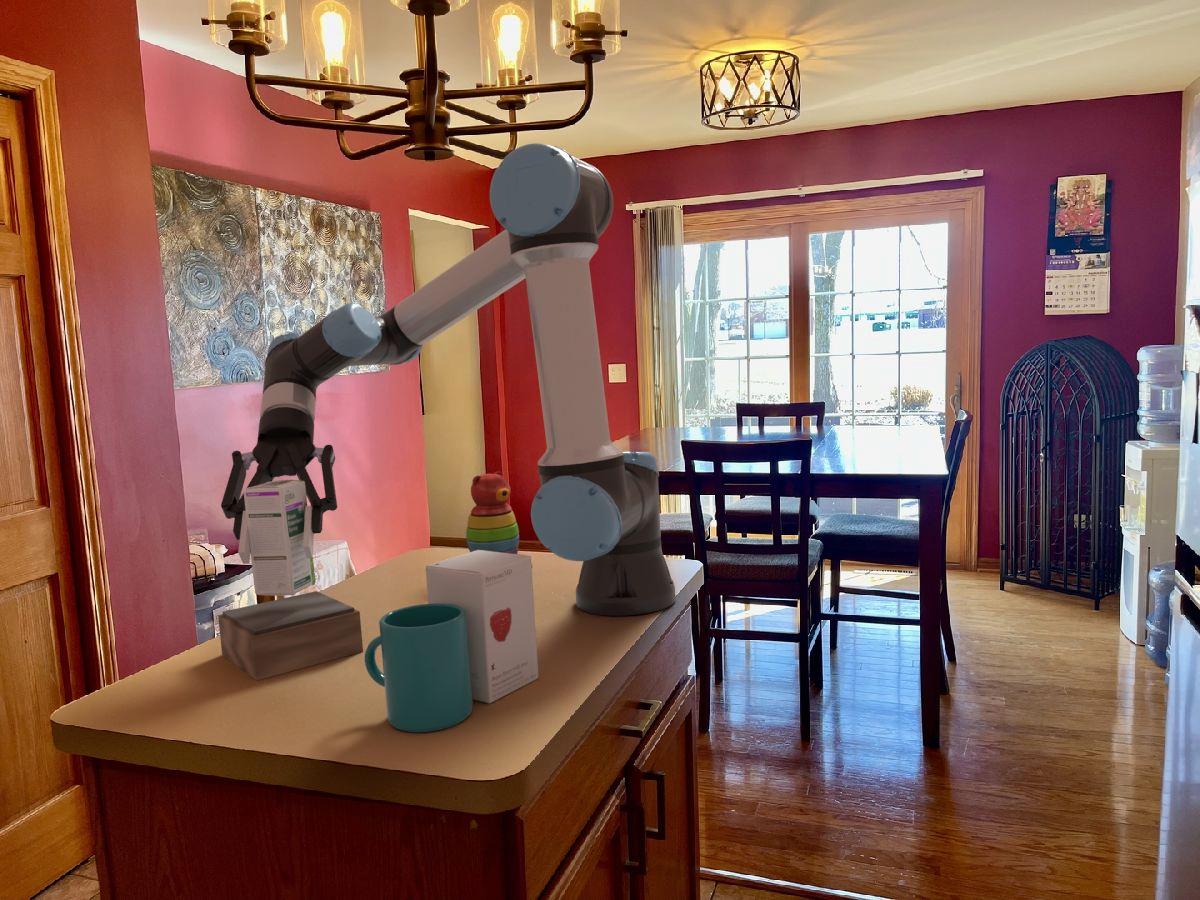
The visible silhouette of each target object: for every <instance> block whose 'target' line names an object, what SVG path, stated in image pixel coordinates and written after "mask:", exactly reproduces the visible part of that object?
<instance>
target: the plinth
mask: <svg viewBox="0 0 1200 900" xmlns="http://www.w3.org/2000/svg"><path fill="white" fill-rule="evenodd" d="M217 618H218V619H217V620H218V627H219V628H218V629H219V637H220V645H221V646H220V647H221V655H222V656H223V657H224V658H226V659H227V660H228V661H230V662H231V663H232V664H234V665H235V666H237V667H238V668H239V669H241V670H242V671H243V672H245V673H246V674H247V675H249V676H250V677H251V678H252V679H254V680H255V681H260V680H264V679H267V678H271V677H275V676H279V675H282V674H285V673H289V672H293V671H297V670H300V669H304V668H308V667H312V666H314V665H315V666H316V665H318V664H323V663H326V662H329V661H333V660H334V661H335V660H336V659H337V660H338V659H341V658H344V657H347V656H352V655H356V654H358V653H362V652H364V645H363V636H362V623H361V621H362V620H361V613H360V611H359V610H357V609H356V608H355V607H353V606H350V605H349V604H346V603H344V602H342V601H339V600H338V599H335V598H332V597H331V596H328V595H326V594H323V593H321V592H319V591H310V592H307V593H301V594H295V595H291V596H288V597H283V598H279V599H275V600H271V601H265V602H260V603H257V604H252V605H248V606H243V607H238V608H233V609H229V610H224V611H222V614H218V615H217Z"/></svg>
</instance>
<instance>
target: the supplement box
mask: <svg viewBox="0 0 1200 900" xmlns="http://www.w3.org/2000/svg"><path fill="white" fill-rule="evenodd" d="M425 576H426V590H427V604H433V603H443V604H453V605H457V606H460V607H462V608H464V609H465V611H466V620H467V633H468V647H469V660H470V673H471V686H472V700H473V701H474V700H475V701H479V702H483V703H485V704H492V703H494V702H496V701H498V700H499V699H501V698H503V697H505V696H507V695H509V694H511V693H512V692H515V691H517V690H518V689H520V688H523V687H524V686H526V685H528V684H530V683H532V682H534V681H536V680H537V679H539V664H538V663H539V662H538V649H537V648H538V647H537V634H536V633H537V630H536V615H535V600H534V597H535V596H534V584H533V563H532V555H527V554H519V553H517V554H509V553H500V552H493V551H485V550H476V551H473V552H470V551H469V552H467V553H464V554H459V555H455V556H451V557H449V558H447V559H443V560H439V561H436V562H434V563H430V564H427V565H426V566H425Z"/></svg>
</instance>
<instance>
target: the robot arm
mask: <svg viewBox="0 0 1200 900" xmlns="http://www.w3.org/2000/svg"><path fill="white" fill-rule="evenodd" d="M489 188H490V189H489V202H490V208H491V210H492V213H493V214H494V217H495V219H496V220H497V221H498V222H499V224H500V225H501V226H502V227H503V228H504V230H502V231H501V232H500V233H498V234H497V235H495V236H494V237H492V238H491V239H489V240H488V241H487V242H485V243H484V244H483V245H481V246H479V247H478V248H477V249H475V250H474V251H472V252H471V253H469V254H468V255H467V256H465V257H464V258H462V259H461V260H458V262H456V263H455V264H453V265H452V266H451V267H449V268H448V269H446V270H445V271H443V272H442V273H440V274H439V275H438V276H436V277H435V278H433V279H432V280H431V281H429V282H428V283H426V284H425V285H423V286H422V287H420V288H419V289H417V290H416V291H414V292H413V293H412V294H410V295H409V296H408V297H405V298H404V299H403V300H401V301H400V302H399V303H396V305H395V306H393V307H391V308H390V309H389V310H387V311H385V312H384V313H383V314H381V315H379V316H375V315H374V314H373V313H372V312H371V311H370V310H369V309H367V308H366V307H362V305H360V304H359V303H356V302H348V303H345V304H344V305H342V306H341V307H339V308H337V309H335V310H332V311H330V312H329V313H328V314H327V315H326V316H325V317H324V318H323V319H321V320H320V321H319V322H317V323H316V324H314V325H313V326H312V327H310V328H309V329H308V330H307V331H305V332H304V333H300V332H289V333H286V334H283V333H282V334H280V335H278V336H276V337H274V339H272V340H271V342H270V343H269V345H268V348H267V354H266V357H265V361H264V377H263V387H262V396H261V397H262V399H261V405H260V413H259V421H258V422H259V423H258V430H257V431H258V433H257V441H256V445H255V446H254V448H253V449H252V451H248V452H244V453H242V452H241V451H240V450H234V451H233V452H232V453H231V459H232V463H233V464H232V466H231V467H232V468H231V471H230V474H229V476H228V481H227V483H226V487H225V490H224V494H223V496H222V500H221V504H220V506H221V510H222V513H224V516H225V519H228V520H229V519H234V520H233V529H232V532H233V534H234V537H235V538H236V540H237V541H239V544H238V549H237V550H238V551H237V552H238V555H239V558H240V560H241V562H242V564H243V565H245V564H250V560H251V553H250V544H249V535H248V526H247V517H246V509H245V500H244V492H243V493H242V491H243V488H244V484H245V481H246V476H247V471H248V470H249V469H250V467H251V466H252V465H251V464H252V463H253V462H255V463H256V464H258V465H257V467H256V470H255V473H254V475H253V477H252V478H251V480H250V482H249V483H248V484H247V486H246V488H249V487H253V486H257V485H260V484H264V483H266V482H272V481H274V478H280V477H283V476H287V477H295V476H296V477H297V478H298V479H297V480H302V481H304V482H305V488H306V498H307V499H308V500H307V501H308V502H309V503H310V505H307V506H306V507H305V523H304V539H303V549H304V552H305V555H306V558H313V559H314V539H315V534H321V532H323V523H324V522H323V519H324V514H325V513H326V512H328V511H332V512H333V511H335V510H337V509H338V502H337V501H338V500H337V494H336V488H335V487H336V486H335V479H334V470H333V467H334V464H335V461H336V456H335V455H336V454H335V452H334V446H333V445H332V444H326V445H324V446H323V447H316V446H315V444H314V438H315V437H314V436H315V419H316V405H317V404H316V403H317V402H316V401H317V400H316V399H317V389H318V387H319V386H320V385H321V384H323V383H325V382H326V381H328V380H329V379H332V377H334V376H336V375H337V374H338V373H340V372H341V371H343V370H344V369H346V368H349V367H358V366H371V365H372V366H373V365H375V366H376V365H377V366H378V365H391V366H395V365H397V366H398V365H401V364H403V363H409V362H412V361H413V360H415V359H416V358H417V357H418V356H419V355H420V353H421V351H422V349H423V345H425V344H427V343H428V342H430V341H431V340H433V339H434V338H436V337H437V336H439V335H441V334H442V333H444V332H445V331H447V330H448V329H449V328H452V327H453V326H455V325H456V324H457V323H459V322H460V321H462V320H463V319H465V318H466V317H468V316H469V315H471V314H473V313H475V312H476V311H477V310H480V308H482V307H483V306H485V305H486V304H488V303H489V302H491V301H493V300H494V299H496V298H497V297H499V296H501V294H503V293H505V292H506V291H508V290H510V289H511V288H513V287H514V286H515V285H517V284H519V283H520V282H522V281H523V280H525V282H526V290H527V299H528V307H529V313H530V316H529V317H530V321H531V331H532V337H533V346H534V354H535V363H536V370H537V378H538V384H539V385H538V386H539V393H540V394H539V395H540V401H541V409H542V417H543V424H544V426H543V427H544V432H545V433H544V434H545V442H546V449H545V452H544V453H543V454H542V456H541V457H539V460H538V461H537V466H538V467H537V468H538V475H539V484H540V488H539V489H538V491H537V492H536V494H535V496H534V498H533V499H532V503H531V510H530V517H531V524H532V527H533V530H534V532H535V535H536V537H537V538H538V540H539V541H540V543H541V544H542V545H543V546H544V547H545V548H546V549H548V550H549V551H550V552H551V553H553V555H556V556H557V557H559V558H561V559H563V560H567V561H572V562H582V565H581V568H580V573H579V578H578V584H577V585H576V588H575V602H576V603H575V604H576V607H577V608H578V609H579V610H582V611H583V612H586V613H589V614H595V615H601V616H615V617H616V616H619V617H620V616H633V615H636V616H637V615H643V614H648V613H649V614H651V613H654V612H657V611H660V610H663V609H666V608H669V607H670V606H672V605H673V604H674V603H675V602H676V585H675V583H674V580H673V579H672V576H671V573H670V570H669V567H668V564H667V561H666V559H665V556H664V553H663V551H662V550H663V549H662V539H661V538H662V537H661V532H662V531H661V513H660V512H661V510H660V494H659V493H660V492H659V490H660V489H659V477H660V474H659V473H660V471H659V470H658V463H657V458H656V456H655V455H654V454H653V453H652V452H650V451H623V450H622V449H621V448H619V447H618V446H617V445H616V444H614V443H613V441H612V440H611V435H610V427H609V426H610V425H609V420H608V411H607V402H606V401H607V400H606V396H605V387H604V386H605V385H604V377H603V371H602V362H601V353H600V344H599V336H598V327H597V320H596V319H597V318H596V312H595V304H594V295H593V286H592V278H591V271H590V261H591V259H592V258H593V256H594V255H595V254H596V253H597V251H598V250H599V238H600V237H601V236H602V235H603V234H604V233H605V231H606V229H607V228H608V226H609V225H610V222H611V219H612V216H613V213H614V212H613V211H614V196H613V195H614V194H613V191H612V188H611V185H610V183H609V181H608V180H607V178H606V177H605V175H604V174H603V173H602V172H601V171H600V170H599V169H598V168H596V167H595V166H594V165H592V164H591V163H588V162H586V161H583V160H581V159H579V158H577V157H575V156H574V155H573V156H572V155H571V154H570V153H569V152H568V151H566V150H565V149H563V148H561V147H559V146H557V145H556V146H555V145H550V144H546V143H540V142H538V143H537V142H536V143H535V142H534V143H527V144H524V145H521V146H519V147H517V148H515V149H514V150H512V151H510V152H509V153H508V154H507V155H506V156H505V157H504V158H503V159H502V161H501V162H500V164H499V165H498V167H497V168H496V169H495V171H494V173H493V176H492V178H491V182H490V186H489ZM315 458H316V459H317V460H318V461H317V462H319V463H320V465H321V473H322V479H323V480H322V481H323V486H324V487H323V489H324V496H325V497H322V498H321V497H320V496H319V494H318V492H317V490H316V488H315V485H314V483H313V481H312V479H311V477H310V475H309V473H308V470H307V468H306V467H307V466H308V465H309V464H310V463H311V462H312V461H313V460H314V459H315Z"/></svg>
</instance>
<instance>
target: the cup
mask: <svg viewBox="0 0 1200 900" xmlns="http://www.w3.org/2000/svg"><path fill="white" fill-rule="evenodd" d="M378 625H379V633H380V634H379V635H378V636H376V637H375V638H373V639H372V640H371V641H370V642H369V643H368V645H367V647H366V649H365V651H364V665H365V669H366V671H367V673H368V675H369V676H370V678H371V679H372V680H373V681H374V683H376V684H377V685H379V686H381V687H383V688H384V693H385V695H384V696H385V704H386V715H387V720H388V723H389V724H390V725H391V726H392V727H394V728H396V729H398V730H400V731H403V732H404V731H405V732H408V733H409V732H410V733H429V732H436V731H441V730H445V729H449V728H450V727H453V726H456V725H458V724H460V723H462V722H463V721H465V720H466V719H467V718H468V717H469V716H470V715H471V713H472V711H473V706H474V704H473V701H474V699H472V686H471V673H470V660H469V647H468V633H467V620H466V611H465V609H464V608H462V607H460V606H457V605H453V604H443V603H433V604H428V603H422V604H416V605H408V606H405V607H401V608H398V609H395V610H392V611H390V612H387V613H386V614H384V615H383V616H381V618H380V619H379V623H378ZM379 647H381V648H380V650H381V658H382V659H381V660H382V670H383V672H382V671H381V670H380V667H379V666H378V664H377V660H376V652H377V649H378V648H379Z"/></svg>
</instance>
